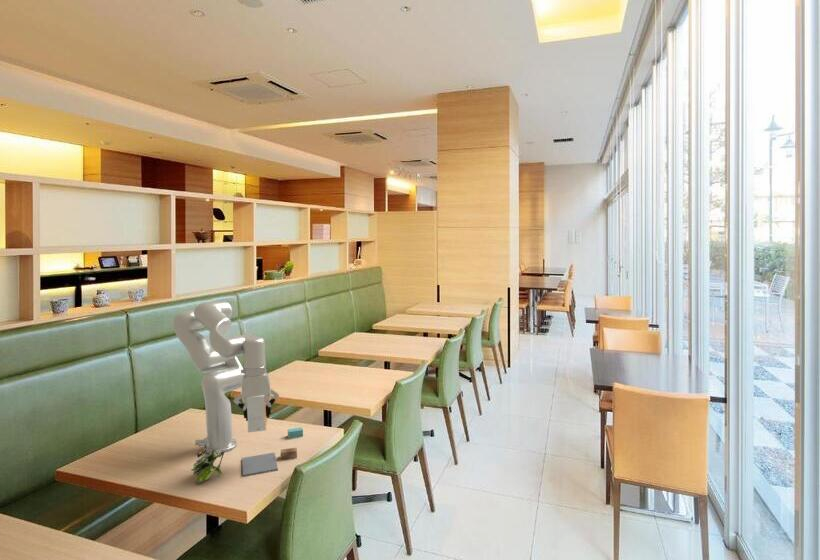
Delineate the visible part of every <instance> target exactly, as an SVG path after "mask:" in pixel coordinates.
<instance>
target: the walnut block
mask: <svg viewBox="0 0 820 560" xmlns="http://www.w3.org/2000/svg"><path fill="white" fill-rule="evenodd" d="M297 448H298V447H290V448H282V449H280V461H283V460H292V459H297V458H298V449H297Z"/></svg>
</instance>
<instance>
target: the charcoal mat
mask: <svg viewBox="0 0 820 560" xmlns="http://www.w3.org/2000/svg"><path fill="white" fill-rule="evenodd" d="M275 454H276V453H275V452H269V453H264V454H258V455H257V454H256V455H251V456H246V457H241V460H242V461H241V463H242V464H241V465H242V477H249V476H254V475H259V473H260V474H264V472H265V473H269V471H271V472H274V471H273V470H276V471H278V470H279V468H278V463H277V459H276V455H275Z"/></svg>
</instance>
